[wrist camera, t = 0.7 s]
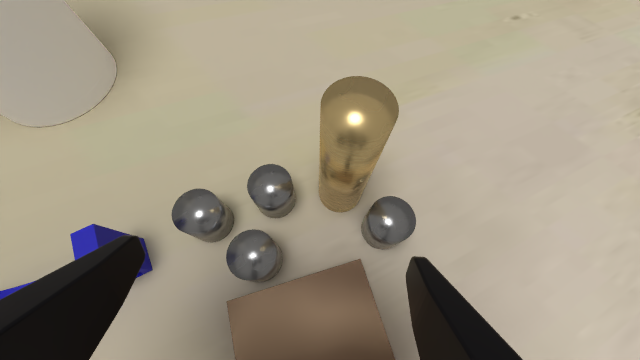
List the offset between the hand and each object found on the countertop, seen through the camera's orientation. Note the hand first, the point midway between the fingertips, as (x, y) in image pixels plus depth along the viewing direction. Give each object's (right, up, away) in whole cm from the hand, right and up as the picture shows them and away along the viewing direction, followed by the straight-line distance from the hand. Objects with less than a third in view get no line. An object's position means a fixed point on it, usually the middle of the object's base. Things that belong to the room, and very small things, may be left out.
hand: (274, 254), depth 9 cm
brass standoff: (+3, +1, +17) cm, 17 cm away
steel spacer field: (0, -2, +16) cm, 16 cm away
